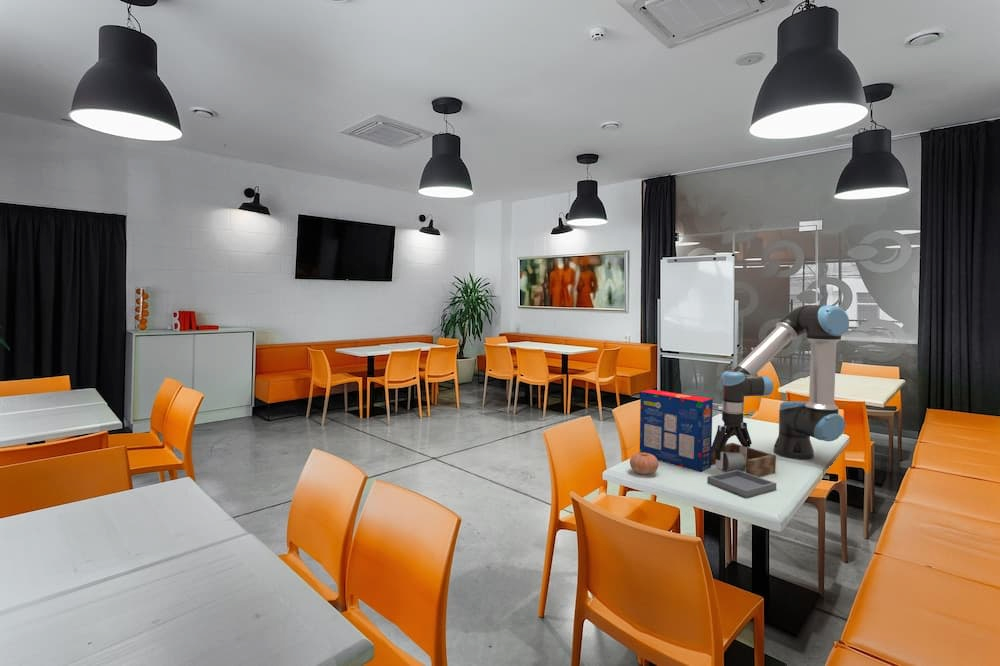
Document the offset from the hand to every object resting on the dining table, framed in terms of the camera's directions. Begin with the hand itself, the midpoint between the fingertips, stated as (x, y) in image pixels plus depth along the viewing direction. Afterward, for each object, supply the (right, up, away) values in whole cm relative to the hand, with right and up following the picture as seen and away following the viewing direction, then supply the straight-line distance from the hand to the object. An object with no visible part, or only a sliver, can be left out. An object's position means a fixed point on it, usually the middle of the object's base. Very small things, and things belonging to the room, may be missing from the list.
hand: (731, 465), depth 200 cm
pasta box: (-18, -2, +12) cm, 22 cm away
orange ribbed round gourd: (-35, -3, -2) cm, 35 cm away
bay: (+5, -2, +3) cm, 6 cm away
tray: (-4, -3, -16) cm, 17 cm away
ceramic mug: (0, -3, +1) cm, 3 cm away
